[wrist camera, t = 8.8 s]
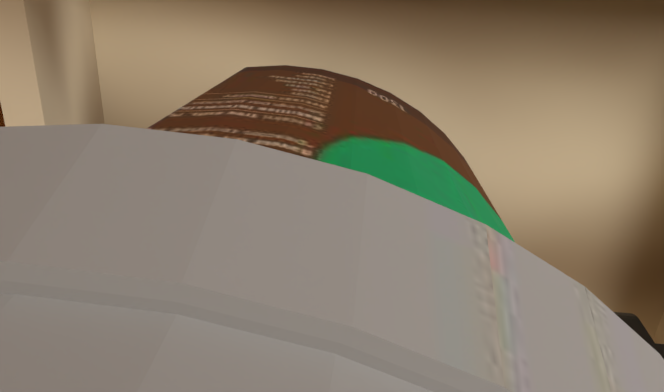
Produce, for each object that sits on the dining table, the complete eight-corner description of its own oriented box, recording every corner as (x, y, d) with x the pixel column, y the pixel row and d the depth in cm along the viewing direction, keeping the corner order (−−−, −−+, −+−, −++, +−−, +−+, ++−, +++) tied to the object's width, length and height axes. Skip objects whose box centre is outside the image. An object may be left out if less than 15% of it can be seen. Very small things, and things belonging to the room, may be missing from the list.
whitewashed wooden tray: (55, -150, 12) (-56, -173, 9) (831, -103, 12) (1003, -110, 8) (130, 406, 19) (82, 502, 16) (613, 450, 19) (662, 558, 15)
